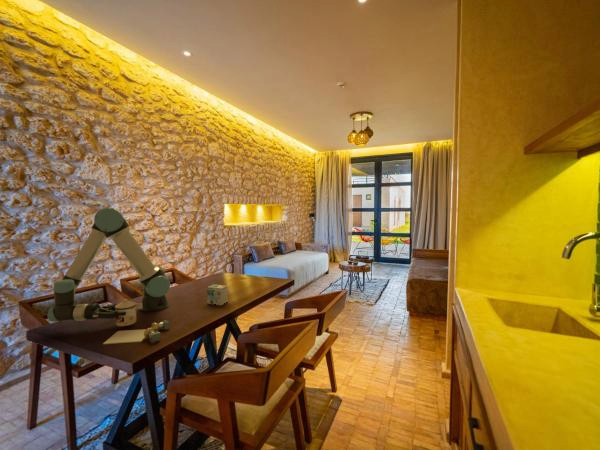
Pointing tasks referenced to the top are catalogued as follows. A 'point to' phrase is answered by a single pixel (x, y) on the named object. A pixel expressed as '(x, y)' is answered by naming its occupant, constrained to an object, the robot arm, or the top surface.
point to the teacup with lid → (126, 319)
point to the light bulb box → (217, 294)
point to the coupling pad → (126, 337)
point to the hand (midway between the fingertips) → (138, 309)
